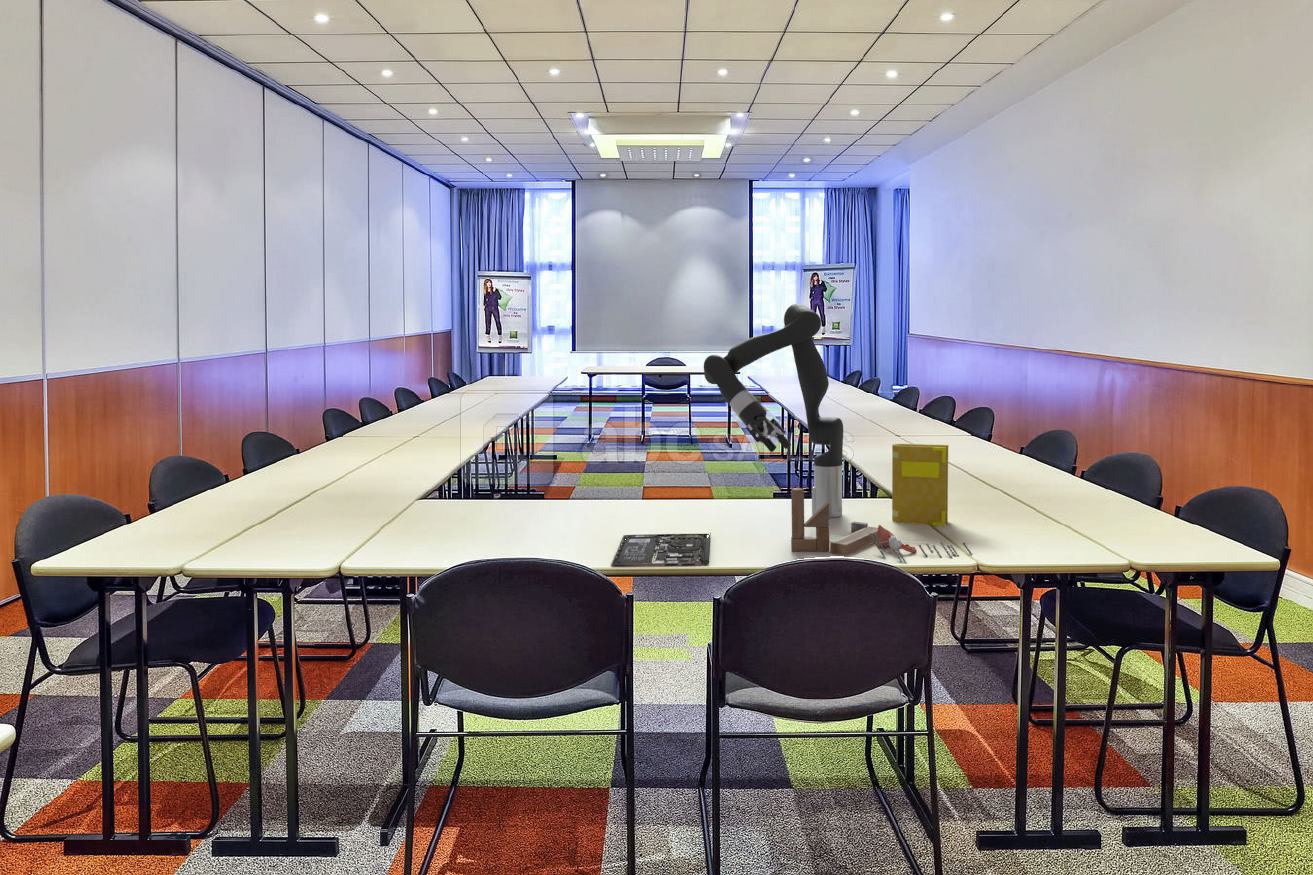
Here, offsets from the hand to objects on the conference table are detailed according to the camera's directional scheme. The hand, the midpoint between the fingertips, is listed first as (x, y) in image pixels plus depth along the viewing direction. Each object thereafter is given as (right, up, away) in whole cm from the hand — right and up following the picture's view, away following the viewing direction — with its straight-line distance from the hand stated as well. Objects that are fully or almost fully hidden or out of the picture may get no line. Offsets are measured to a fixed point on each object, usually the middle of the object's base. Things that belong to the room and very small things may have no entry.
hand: (781, 448), depth 275 cm
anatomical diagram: (+38, -30, -13) cm, 50 cm away
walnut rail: (+20, -28, 0) cm, 35 cm away
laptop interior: (-35, -31, -1) cm, 47 cm away
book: (+48, -24, +26) cm, 60 cm away
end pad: (+17, -27, +6) cm, 33 cm away
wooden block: (+8, -29, -5) cm, 31 cm away
